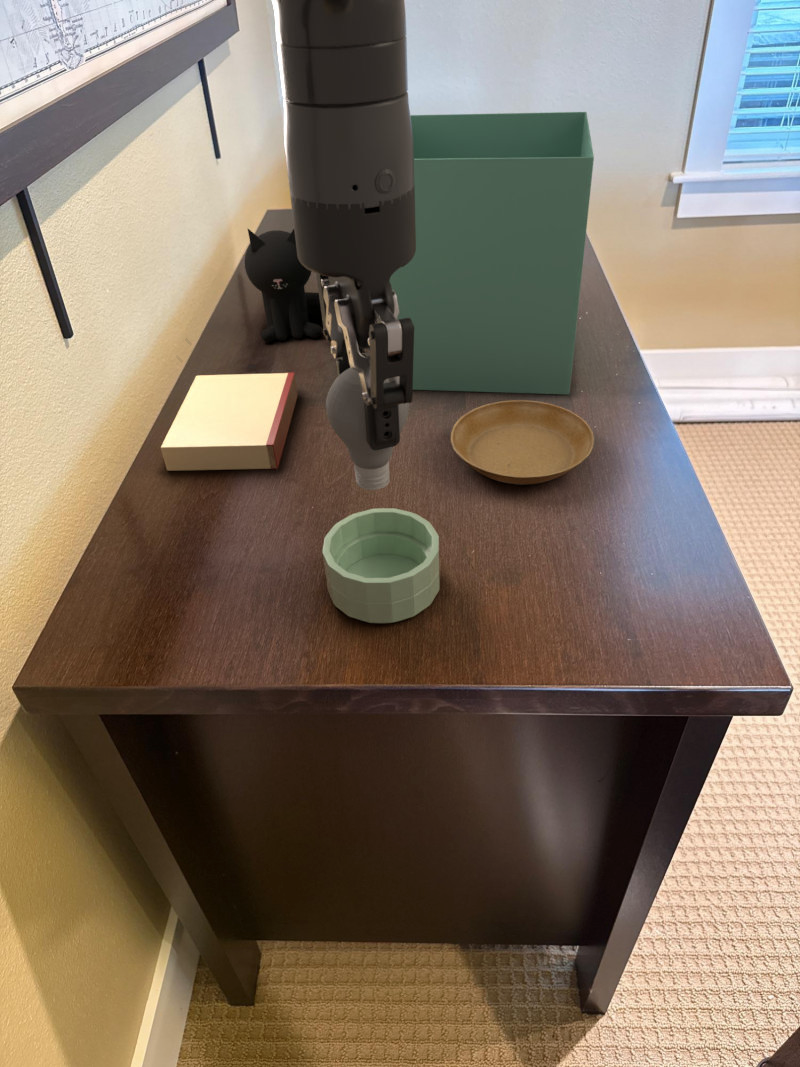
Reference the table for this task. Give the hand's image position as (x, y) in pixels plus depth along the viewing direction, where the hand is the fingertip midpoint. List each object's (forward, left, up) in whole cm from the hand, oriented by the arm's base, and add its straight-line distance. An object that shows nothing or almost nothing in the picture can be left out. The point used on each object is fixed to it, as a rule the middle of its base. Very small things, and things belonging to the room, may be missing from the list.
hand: (368, 422), depth 57 cm
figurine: (+8, +54, -17) cm, 57 cm away
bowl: (0, 0, -17) cm, 17 cm away
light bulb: (0, 0, -6) cm, 6 cm away
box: (+26, +38, -17) cm, 49 cm away
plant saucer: (+20, +14, -17) cm, 29 cm away
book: (-7, +32, -17) cm, 36 cm away
